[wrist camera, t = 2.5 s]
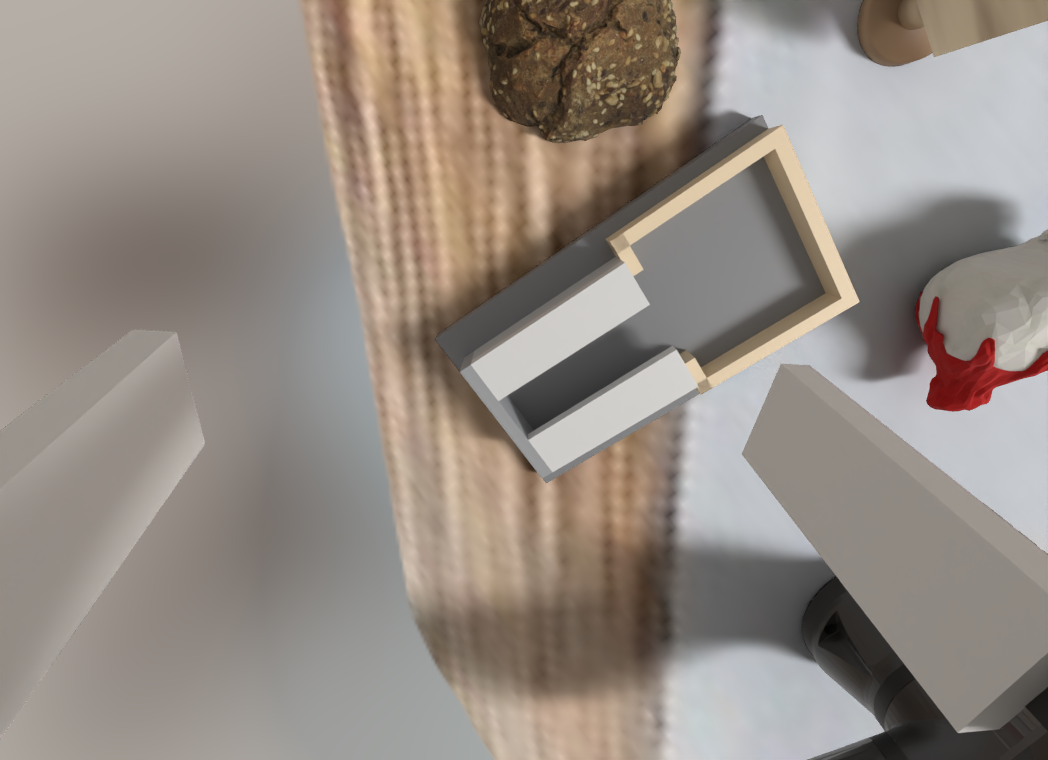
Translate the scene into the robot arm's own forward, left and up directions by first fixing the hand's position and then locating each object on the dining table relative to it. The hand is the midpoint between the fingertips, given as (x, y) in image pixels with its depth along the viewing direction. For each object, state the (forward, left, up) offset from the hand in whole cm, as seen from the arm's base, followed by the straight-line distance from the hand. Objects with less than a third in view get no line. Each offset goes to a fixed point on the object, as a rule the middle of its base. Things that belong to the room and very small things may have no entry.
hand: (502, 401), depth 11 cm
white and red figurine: (-27, +24, -29) cm, 46 cm away
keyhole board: (-6, +10, -29) cm, 31 cm away
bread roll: (-11, -9, -29) cm, 33 cm away
